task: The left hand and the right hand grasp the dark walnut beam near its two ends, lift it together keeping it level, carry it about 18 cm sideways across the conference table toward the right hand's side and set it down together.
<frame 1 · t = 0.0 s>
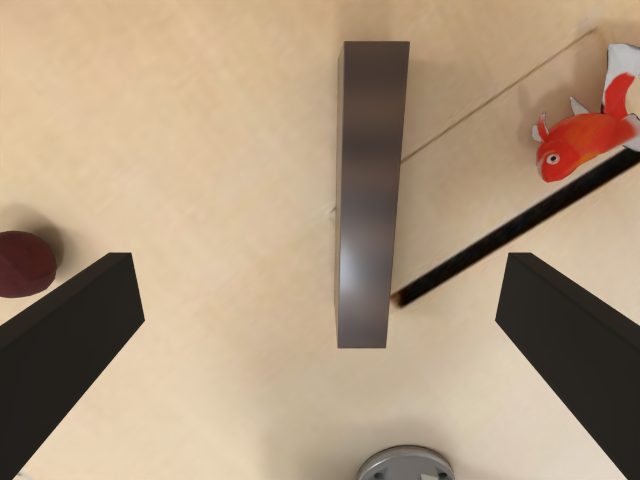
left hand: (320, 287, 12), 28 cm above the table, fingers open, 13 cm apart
walnut beam: (358, 195, 40), on the table
dark red ball: (40, 252, 42), on the table
fish: (571, 111, 37), on the table
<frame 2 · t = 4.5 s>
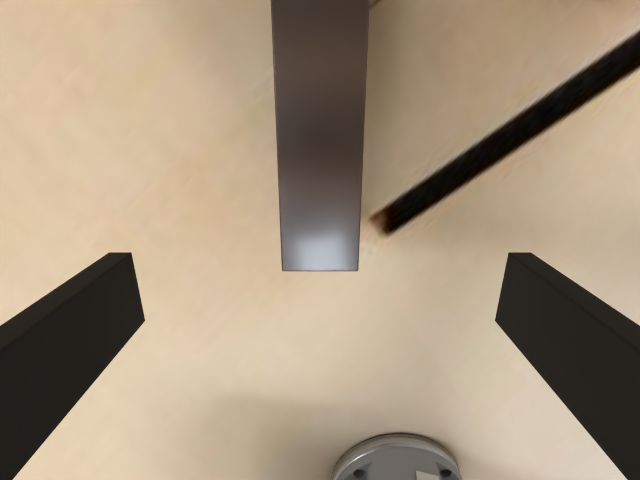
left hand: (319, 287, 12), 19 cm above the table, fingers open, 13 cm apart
walnut beam: (320, 52, 27), on the table, touching right hand
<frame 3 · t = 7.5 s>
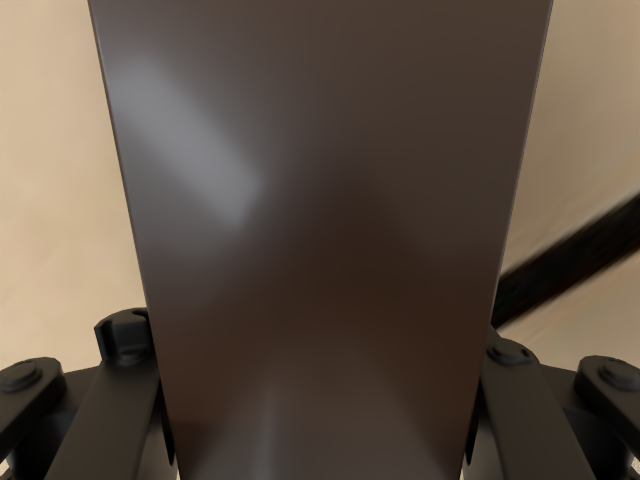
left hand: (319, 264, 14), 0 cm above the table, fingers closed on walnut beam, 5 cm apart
when the left hand's fingers open (1 cm above the table, at t = 13.2 s): walnut beam stays where it is, on the table.
when the right hand's fingers open (5 cm above the table, at t = 13.3 s): walnut beam stays where it is, on the table.
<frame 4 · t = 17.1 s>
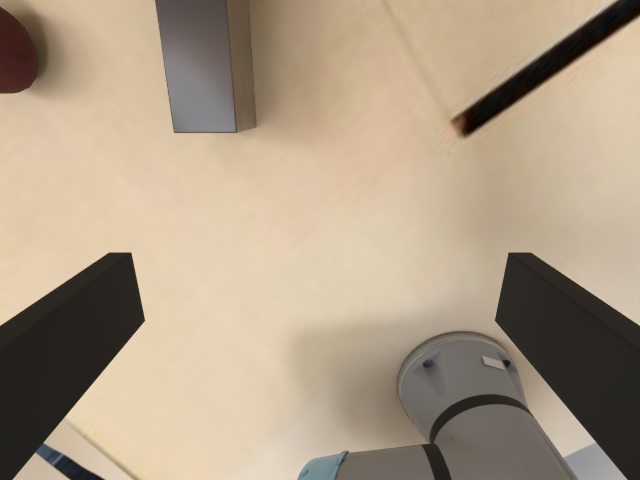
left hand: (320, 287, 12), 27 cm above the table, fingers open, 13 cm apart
dark red ball: (18, 54, 34), on the table
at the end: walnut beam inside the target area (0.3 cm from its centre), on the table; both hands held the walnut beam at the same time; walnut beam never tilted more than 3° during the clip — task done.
